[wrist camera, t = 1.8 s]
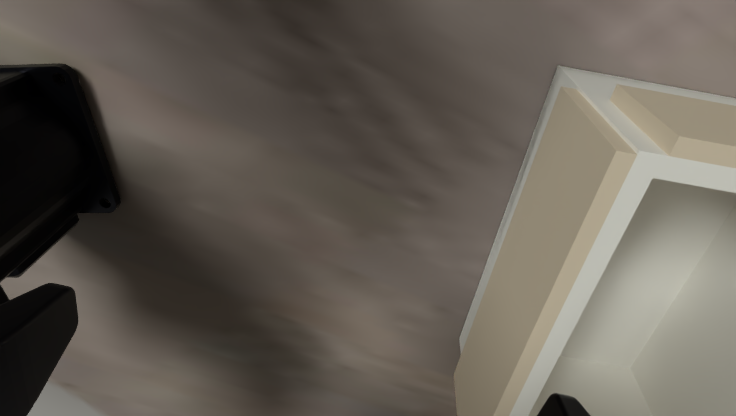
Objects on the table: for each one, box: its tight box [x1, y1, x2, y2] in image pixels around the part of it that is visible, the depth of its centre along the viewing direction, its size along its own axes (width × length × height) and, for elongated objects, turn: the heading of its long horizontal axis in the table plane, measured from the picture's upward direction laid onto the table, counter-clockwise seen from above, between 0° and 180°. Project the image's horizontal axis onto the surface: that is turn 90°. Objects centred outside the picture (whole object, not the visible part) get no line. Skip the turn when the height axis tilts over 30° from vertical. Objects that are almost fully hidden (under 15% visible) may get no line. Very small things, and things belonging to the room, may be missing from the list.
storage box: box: [454, 65, 736, 416], centre depth 18 cm, size 10×15×8 cm, turn 171°
